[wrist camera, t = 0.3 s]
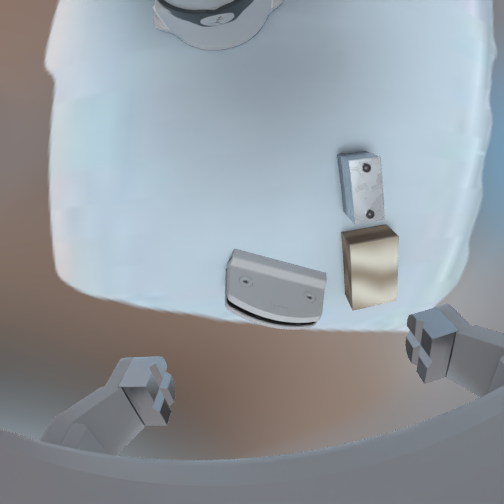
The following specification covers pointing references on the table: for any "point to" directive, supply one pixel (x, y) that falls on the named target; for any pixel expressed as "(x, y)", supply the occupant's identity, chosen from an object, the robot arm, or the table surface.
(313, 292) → the hinge
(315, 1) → the table surface
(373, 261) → the stand
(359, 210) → the block
